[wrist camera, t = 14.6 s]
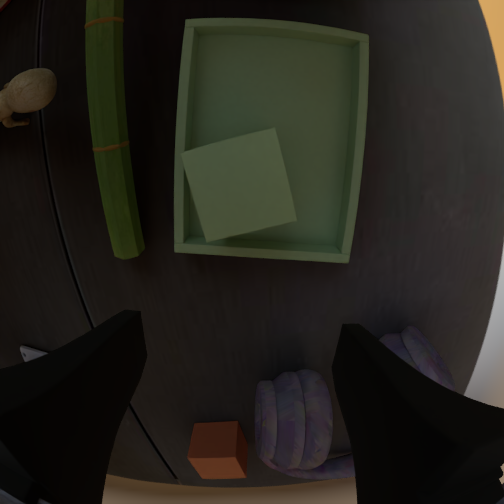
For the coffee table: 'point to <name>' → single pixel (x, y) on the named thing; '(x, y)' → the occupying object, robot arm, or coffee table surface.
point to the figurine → (26, 95)
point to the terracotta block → (218, 450)
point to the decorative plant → (111, 125)
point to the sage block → (240, 185)
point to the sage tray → (277, 126)
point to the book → (4, 4)
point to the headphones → (322, 412)
